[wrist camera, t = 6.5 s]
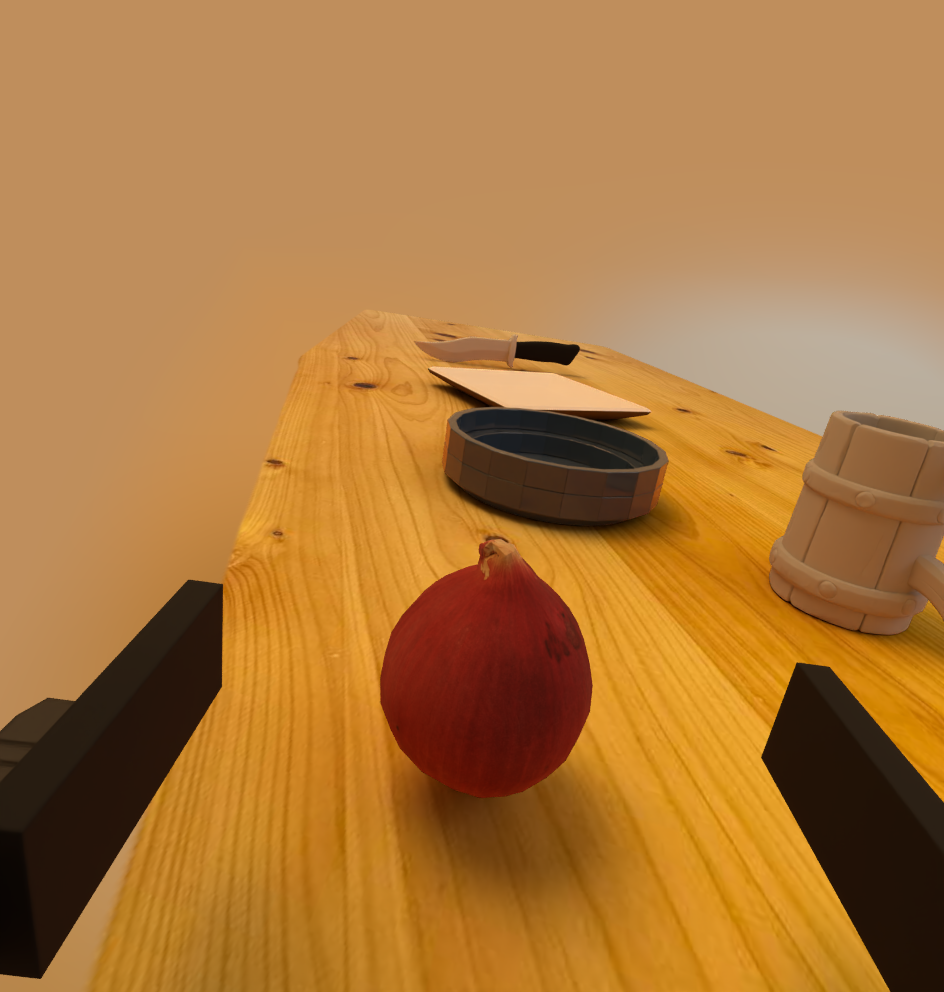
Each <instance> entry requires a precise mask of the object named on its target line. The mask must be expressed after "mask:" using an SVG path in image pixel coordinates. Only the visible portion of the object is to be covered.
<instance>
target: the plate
mask: <svg viewBox="0 0 944 992" xmlns="http://www.w3.org/2000/svg"><path fill="white" fill-rule="evenodd" d="M428 370H429V372H430V373H432V374H433V375H435V376H437V377H438V378H440V379H442V380H443V381H445V382H447V383H448V384H450V385H451V386H453V387H455V388H456V389H458V390H460V391H462V392H464V393H466V394H468V395H470V396H472V397H474V398H476V399H478V400H480V401H481V402H483V403H485V404H487V405H489V406H491V407H508V408H524V409H533V410H542V411H550V412H555V413H561V414H566V415H572V416H577V417H581V418H585V419H589V420H615V419H622V418H629V417H636V416H643V415H648V414H649V413H650V412H651V411H650V410H649V409H648V408H646V407H643V406H640V405H638V404H635V403H632V402H630V401H627V400H624V399H622V398H619V397H616V396H614V395H611V394H608V393H606V392H603V391H600V390H598V389H595V388H592V387H590V386H587V385H584V384H582V383H579V382H576V381H574V380H571V379H568V378H565V377H563V376H560V375H557V374H554V373H541V372H523V371H505V370H486V369H468V368H450V367H430V368H428Z"/></svg>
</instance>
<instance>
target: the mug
mask: <svg viewBox="0 0 944 992" xmlns="http://www.w3.org/2000/svg"><path fill="white" fill-rule="evenodd" d="M802 479H803V481H804V486H803V488H802V491H801V493H800V496H799V499H798V501H797V504H796V506H795V509H794V511H793V514H792V517H791V519H790V522H789V524H788V527H787V529H786V532H785V534H784V536H782V537H780V538H779V539H777V540H776V541H775V542H774V544H773V547H772V549H771V552H770V557H769V560H770V563H771V565H772V568H771V571H770V574H769V579H770V584H771V587H772V588H773V590H774V591H775V592H776V593H777V594H778V595H779V596H780V597H781V598H783V599H784V600H786V601H791V603H792V605H794V606H795V607H797V608H799V609H801V610H802V611H804V612H806V613H808V614H810V615H813V616H815V617H817V618H820V619H822V620H824V621H827V622H829V623H832V624H835V625H838V626H841V627H844V628H847V629H850V630H854V631H855V630H857V629H859V630H860V631H861V632H865V633H872V634H884V635H892V634H898V633H900V632H903V631H905V630H906V629H907V628H908V627H909V624H910V622H911V619H912V617H913V615H915V614H918V613H919V612H921V611H923V609H924V608H925V606H926V603H927V601H928V600H929V601H930V602H931V603H932V604H933V606H934V607H935V608H936V609H937V611H938V612H939V613H940V615H941V617H942V618H943V621H944V564H943V563H942V562H940V561H939V560H937V559H936V558H935V557H936V554H937V552H938V549H939V546H940V544H941V541H942V539H943V536H944V431H942V430H941V429H938V428H935V427H931V426H927V425H924V424H920V423H916V422H911V421H908V420H903V419H899V418H894V417H890V416H884V415H879V416H877V415H875V414H872V413H859V412H848V411H836V412H833V413H832V415H831V417H830V419H829V422H828V424H827V427H826V429H825V432H824V435H823V437H822V440H821V442H820V445H819V447H818V450H817V452H816V454H815V458H813V459H811V460H810V461H809V462H808V463H807V464H806V466H805V469H804V472H803V478H802Z"/></svg>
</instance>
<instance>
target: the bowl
mask: <svg viewBox="0 0 944 992" xmlns="http://www.w3.org/2000/svg"><path fill="white" fill-rule="evenodd" d="M442 464H443V468H444V472H445V474H446V475H447V476H448V477H450V478H451V479H452V480H453V481H454V482H455V483H456V484H457V485H459V486H460V487H462V488H463V489H464V490H465V491H466V492H467V493H468V494H470V495H471V496H473V497H474V498H476V499H478V500H479V501H481V502H484V503H486V504H488V505H490V506H492V507H495V508H497V509H500V510H503V511H506V512H509V513H512V514H515V515H519V516H522V517H526V518H530V519H535V520H539V521H545V522H550V523H557V524H565V525H578V526H600V525H610V524H616V523H620V522H623V521H626V520H629V519H632V518H636V517H639V516H643V515H646V514H648V513H649V512H650V511H651V510H652V509H653V508H654V507H655V506H656V505H657V503H658V500H659V496H660V492H661V488H662V484H663V480H664V476H665V473H666V469H667V465H668V458H667V455H666V452H665V451H664V450H662V449H661V448H660V447H658V446H657V445H656V444H654V443H653V442H651V441H649V440H647V439H645V438H643V437H641V436H639V435H636V434H634V433H632V432H629V431H626V430H623V429H620V428H617V427H615V426H612V425H609V424H605V423H601V422H597V421H593V420H589V419H585V418H581V417H577V416H572V415H566V414H561V413H555V412H550V411H542V410H533V409H524V408H508V407H485V408H472V409H467V410H463V411H459V412H456V413H454V414H453V415H452V416H451V417H450V418H449V419H448V420H447V428H446V436H445V443H444V451H443V458H442Z"/></svg>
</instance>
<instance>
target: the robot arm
mask: <svg viewBox="0 0 944 992" xmlns="http://www.w3.org/2000/svg"><path fill="white" fill-rule="evenodd" d="M222 622H223V584H217V583H209V582H202V581H195V580H188V581H187V582H186V583H185V584H184V585H183V586H182V587H181V588H180V589H179V590H178V591H177V593H176V594H175V595H174V596H173V597H172V598H171V599H170V600H169V601H168V602H167V603H166V604H165V605H164V607H163V608H162V609H161V610H160V611H159V612H158V613H157V614H156V615H155V616H154V617H153V618H152V619H151V620H150V621H149V623H148V624H147V625H146V626H145V627H144V628H143V629H142V630H141V631H140V632H139V633H138V634H137V636H135V638H134V639H133V640H132V641H131V642H130V643H129V644H128V645H127V646H126V647H125V648H124V649H123V651H122V652H121V653H120V654H119V655H118V656H117V657H116V658H115V659H114V660H113V661H112V662H111V663H110V664H109V666H108V667H107V668H106V669H105V670H104V671H103V672H102V673H101V674H100V675H99V676H98V677H97V679H95V681H94V682H93V683H92V684H91V685H90V686H89V687H88V688H87V689H86V690H85V691H84V692H83V693H82V695H81V696H80V697H79V698H78V699H77V700H76V701H69V700H60V699H54V698H47V699H45V700H43V701H41V702H40V703H38V704H36V705H34V706H33V707H31V708H29V709H27V710H25V711H24V712H22V713H20V714H18V715H17V716H15V717H14V718H13V719H12V721H10V722H9V723H8V724H7V725H6V726H5V727H4V728H3V729H2V730H1V731H0V974H3V975H12V976H20V977H29V978H37V979H41V978H42V976H43V974H44V973H45V971H46V970H47V968H48V966H49V965H50V963H51V961H52V960H53V958H54V957H55V955H56V953H57V952H58V950H59V949H60V947H61V945H62V944H63V942H64V941H65V939H66V937H67V936H68V934H69V932H70V931H71V929H72V928H73V926H74V924H75V923H76V921H77V920H78V918H79V916H80V915H81V913H82V911H83V910H84V908H85V906H86V905H87V903H88V902H89V900H90V899H91V897H92V895H93V894H94V892H95V891H96V889H97V887H98V886H99V884H100V882H101V881H102V879H103V878H104V876H105V874H106V872H107V871H108V870H109V868H110V866H111V865H112V863H113V861H114V860H115V858H116V856H117V855H118V853H119V852H120V850H121V849H122V847H123V845H124V844H125V842H126V840H127V839H128V837H129V836H130V834H131V832H132V831H133V829H134V828H135V826H136V824H137V823H138V821H139V819H140V818H141V816H142V815H143V813H144V811H145V810H146V808H147V807H148V805H149V803H150V802H151V800H152V798H153V797H154V795H155V794H156V792H157V790H158V789H159V787H160V786H161V784H162V782H163V781H164V779H165V777H166V776H167V774H168V773H169V771H170V769H171V768H172V766H173V765H174V763H175V761H176V760H177V758H178V756H179V755H180V753H181V752H182V750H183V748H184V747H185V745H186V744H187V742H188V740H189V739H190V737H191V736H192V734H193V732H194V731H195V729H196V727H197V726H198V724H199V723H200V721H201V719H202V718H203V716H204V715H205V713H206V711H207V710H208V708H209V706H210V705H211V703H212V702H213V700H214V698H215V697H216V695H217V694H218V692H219V690H220V689H221V687H222ZM761 758H762V760H763V762H764V763H765V765H766V767H767V769H768V771H769V773H770V774H771V776H772V778H773V780H774V782H775V783H776V785H777V787H778V789H779V791H780V792H781V794H782V796H783V798H784V800H785V802H786V803H787V805H788V807H789V809H790V811H791V812H792V814H793V816H794V818H795V820H796V821H797V823H798V825H799V827H800V829H801V831H802V832H803V834H804V836H805V838H806V840H807V841H808V843H809V845H810V847H811V849H812V850H813V852H814V854H815V856H816V858H817V860H818V861H819V863H820V865H821V867H822V869H823V870H824V872H825V874H826V876H827V878H828V879H829V881H830V883H831V885H832V887H833V888H834V890H835V892H836V894H837V896H838V898H839V899H840V901H841V903H842V905H843V907H844V908H845V910H846V912H847V914H848V916H849V917H850V919H851V921H852V923H853V925H854V927H855V928H856V930H857V932H858V934H859V936H860V937H861V939H862V941H863V943H864V945H865V946H866V948H867V950H868V952H869V954H870V956H871V957H872V959H873V961H874V963H875V965H876V966H877V968H878V970H879V972H880V974H881V975H882V977H883V979H884V981H885V983H886V985H887V986H888V988H889V990H890V992H944V802H943V801H942V800H941V799H940V798H939V796H938V795H937V794H936V793H935V792H934V791H933V789H932V788H931V787H930V786H929V785H928V783H927V782H926V781H925V780H924V779H923V777H922V776H921V775H920V774H919V773H918V772H917V770H916V769H915V768H914V767H913V766H912V764H911V763H910V762H909V761H908V760H907V758H906V757H905V756H904V755H903V754H902V753H901V751H900V750H899V749H898V748H897V747H896V745H895V744H894V743H893V742H892V741H891V739H890V738H889V737H888V736H887V735H886V734H885V732H884V731H883V730H882V729H881V728H880V726H879V725H878V724H877V723H876V722H875V720H874V719H873V718H872V717H871V716H870V715H869V713H868V712H867V711H866V710H865V709H864V707H863V706H862V705H861V704H860V703H859V701H858V700H857V699H856V698H855V697H854V696H853V694H852V693H851V692H850V691H849V690H848V688H847V687H846V686H845V685H844V684H843V682H842V681H841V680H840V679H839V678H838V677H837V675H836V674H835V673H834V672H833V671H832V669H831V668H830V667H827V666H819V665H812V664H805V663H796V666H795V669H794V671H793V674H792V677H791V679H790V682H789V685H788V687H787V690H786V693H785V695H784V698H783V701H782V703H781V706H780V709H779V711H778V714H777V717H776V719H775V722H774V725H773V727H772V730H771V733H770V735H769V738H768V741H767V743H766V746H765V749H764V751H763V754H762V757H761Z"/></svg>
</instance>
